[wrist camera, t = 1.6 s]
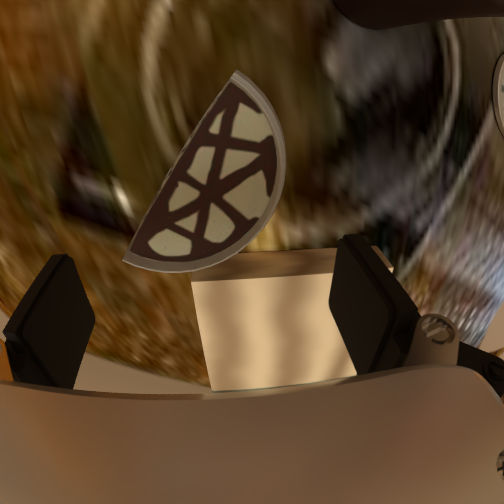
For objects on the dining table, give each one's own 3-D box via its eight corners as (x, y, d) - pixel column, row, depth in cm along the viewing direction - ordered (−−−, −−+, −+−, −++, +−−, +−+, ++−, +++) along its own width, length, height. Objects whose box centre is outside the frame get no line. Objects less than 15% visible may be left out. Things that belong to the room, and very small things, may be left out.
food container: (213, 233, 27) (210, 310, 18) (152, 200, 25) (118, 267, 16) (297, 117, 22) (343, 143, 14) (232, 74, 20) (238, 66, 11)
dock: (376, 245, 29) (394, 269, 25) (345, 358, 39) (354, 382, 35) (194, 255, 28) (190, 284, 24) (213, 371, 37) (213, 398, 34)
